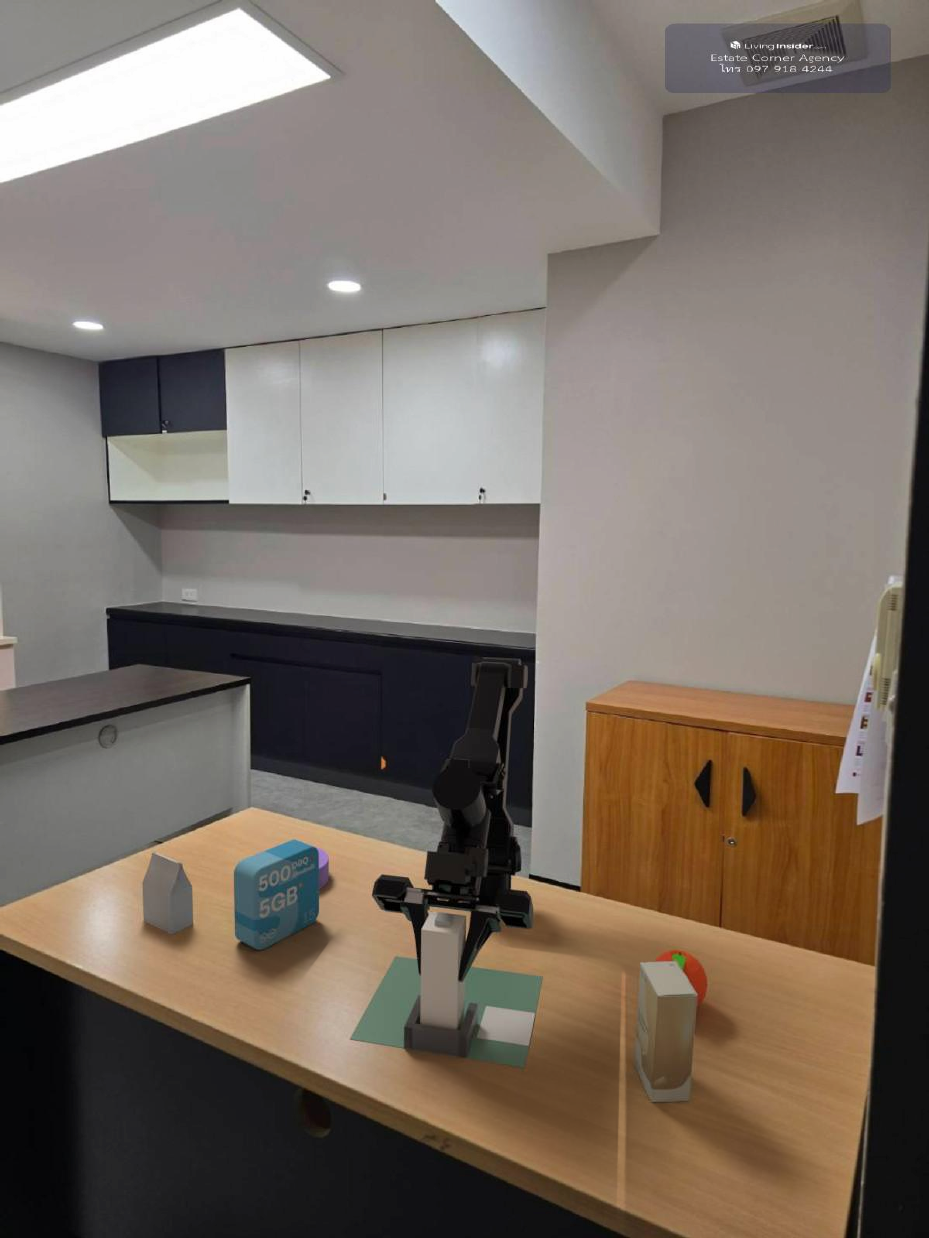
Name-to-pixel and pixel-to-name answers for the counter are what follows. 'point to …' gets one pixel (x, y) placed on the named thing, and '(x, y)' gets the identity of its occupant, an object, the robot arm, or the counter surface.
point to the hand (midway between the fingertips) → (440, 978)
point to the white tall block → (442, 970)
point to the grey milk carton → (167, 895)
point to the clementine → (688, 970)
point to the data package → (276, 893)
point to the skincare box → (665, 1031)
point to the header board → (490, 1015)
